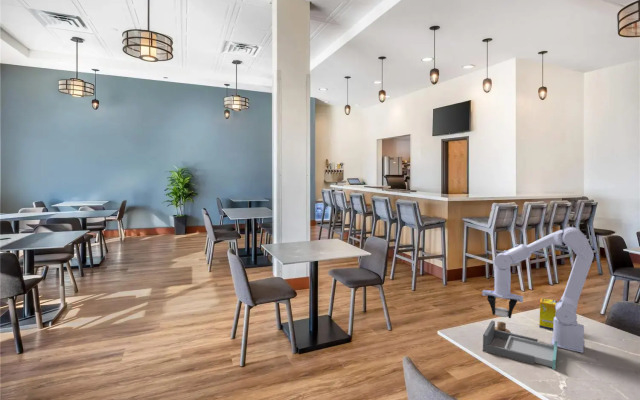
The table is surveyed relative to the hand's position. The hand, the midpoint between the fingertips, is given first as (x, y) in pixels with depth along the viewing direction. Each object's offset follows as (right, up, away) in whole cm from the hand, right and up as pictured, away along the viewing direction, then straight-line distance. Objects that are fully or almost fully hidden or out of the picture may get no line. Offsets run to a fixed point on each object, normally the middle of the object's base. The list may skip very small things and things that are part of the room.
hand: (501, 315), depth 139 cm
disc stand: (0, -7, 0) cm, 7 cm away
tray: (+1, -8, -18) cm, 20 cm away
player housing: (-4, -7, -14) cm, 16 cm away
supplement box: (+22, -7, +5) cm, 24 cm away
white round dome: (0, 0, 0) cm, 0 cm away
